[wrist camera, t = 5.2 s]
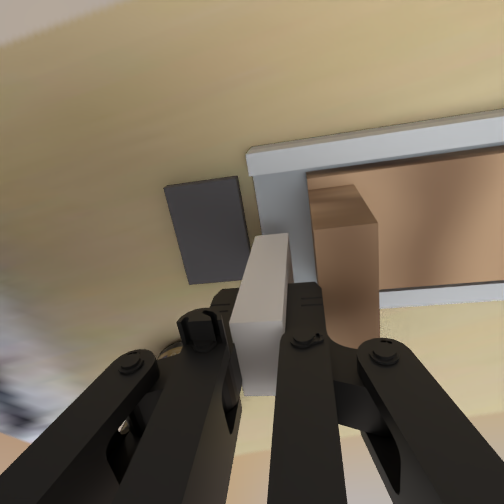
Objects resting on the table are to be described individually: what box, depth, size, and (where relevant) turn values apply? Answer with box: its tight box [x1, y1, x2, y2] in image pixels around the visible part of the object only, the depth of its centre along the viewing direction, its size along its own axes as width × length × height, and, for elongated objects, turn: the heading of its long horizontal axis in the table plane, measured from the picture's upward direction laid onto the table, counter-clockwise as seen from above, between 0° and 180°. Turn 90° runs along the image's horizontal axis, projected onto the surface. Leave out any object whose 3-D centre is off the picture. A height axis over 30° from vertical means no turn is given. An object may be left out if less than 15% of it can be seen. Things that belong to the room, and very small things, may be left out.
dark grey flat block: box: [164, 176, 251, 285], centre depth 20 cm, size 4×6×1 cm, turn 9°
